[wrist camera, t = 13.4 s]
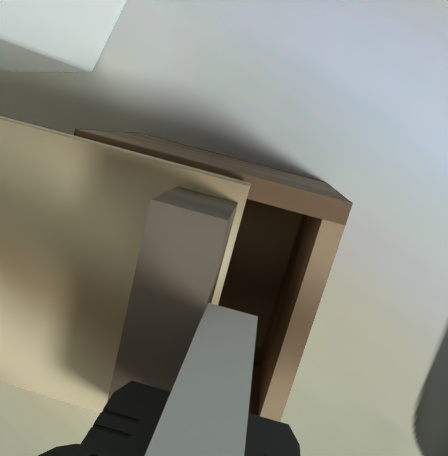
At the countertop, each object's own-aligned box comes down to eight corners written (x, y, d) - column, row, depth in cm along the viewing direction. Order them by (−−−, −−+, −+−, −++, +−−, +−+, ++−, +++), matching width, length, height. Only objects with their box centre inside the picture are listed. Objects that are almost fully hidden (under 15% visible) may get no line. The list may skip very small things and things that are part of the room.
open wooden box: (138, 133, 21) (74, 128, 15) (326, 182, 21) (352, 203, 14) (103, 306, 24) (34, 372, 17) (272, 355, 23) (271, 445, 16)
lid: (-23, 109, 14) (-133, 97, 11) (250, 182, 14) (242, 199, 10) (-49, 347, 17) (-147, 410, 13) (186, 420, 16) (158, 509, 12)
